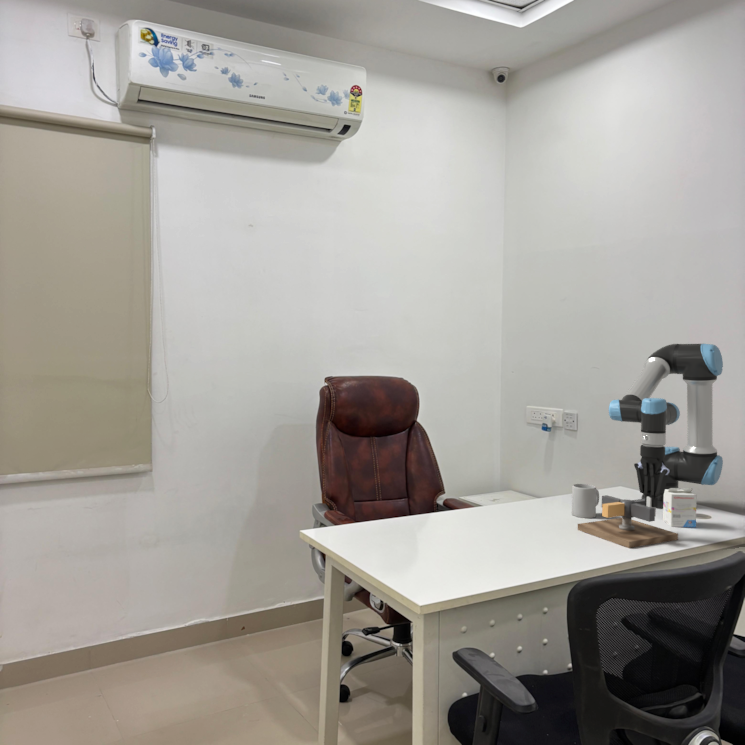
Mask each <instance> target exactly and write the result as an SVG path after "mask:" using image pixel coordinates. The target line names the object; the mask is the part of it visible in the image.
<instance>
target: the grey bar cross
mask: <svg viewBox="0 0 745 745" xmlns="http://www.w3.org/2000/svg"><path fill="white" fill-rule="evenodd" d="M601 508H602V510H601V512H602V513H601V517H604V518H608V519H609V518H610V519H611V518H616V517H617V518H618V517H621V518H622V517H627V518H631V519H632V518H637V519H639V520H642V521H646V522H651V523H652V522H655V521H656V518H655V517H656V516H655V508H651V507H648V506H646V505H645V499H641V498H639V499H638V498H637V499H621V498H618V497H614V496H610V495H608V494H607V495H602V496H601Z"/></svg>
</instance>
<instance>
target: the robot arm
mask: <svg viewBox="0 0 745 745" xmlns="http://www.w3.org/2000/svg"><path fill="white" fill-rule="evenodd" d="M723 367H724V362H723V356H722V352H721V350H720V348H719V347H718V346H717V345H716V344H711V343H710V344H709V343H671V344H668V345H665V346H663V347H661V348H659V349H657V350H656V351H654V352H653V353H652V354H651V355H650V356H648V358H646V360H645V361H644V363H643V369H642V370H641V372H640V373H639V375H638V376H637V377H636V379H635V380H634V382H633V383H632V385H631V386H630V388H629V389H628V390H627V391H626V393H625V394H624V396H623V397H622V398H621V399H619V398H618V399H612V400H611V401H610V402H609V406H608V415H609V418H610V419H611V420H612V421H617V422H618V421H619V422H622V423H623V422H625V423H638V424H640V444H641V445H640V446H639V447H640V449H639V450H640V451H639V455H640V457H641V458H640V460H639V462H636V463H633V465H634V468H635V470H636V478H637V481H638V482H637V483H638V488H639V493H641V494H642V495H641V498H640V499H645V505H646V506H648V507H651V508H655V517H656V514H657V513H656V512H657V509H663V499H664V491H665V489H670V488H679V482H682V483H689V484H690V483H691V484H697V485H702V486H705V485H706V486H714V485H716V484H717V483H718V482H719V479H720V477H721V475H722V470H723V467H724V465H723V463H724V460H723V457H722V456H721V455H720V454H718V450H717V448H716V447H715V446H714V445H713V385H714V383H715V382H716V381H717V380H718V376H721V375H722V373H723ZM673 374H675V375H682V381H684V382H685V383H686V391H687V392H686V394H687V395H686V398H687V399H686V402H687V404H686V405H687V406H686V407H687V408H686V409H687V410H686V411H687V413H686V414H687V416H686V418H687V421H686V424H687V427H686V428H687V430H686V431H687V434H686V436H687V437H686V438H687V444H686V445H685V446H684V447H683V448H682V449H683V450H682V451H681V449H680V447H678V446H665V445H667V444H666V443H667V439H666V437H667V436H666V435H667V434H666V432H667V431H666V430H667V426H670V425H673V424H674V423H676V422H677V421H678V420H679V418H680V416H681V411H680V408H679V407H678V406H677V405H676V404H675V403H674V402H673V403H672V402H669V401H667V400H666V399H665V398H660V397H651V396H652V395H653V394H654V392H655V391H656V389H657V387H658V386H659V385H660V383H661V382H662V380H663V379H666V378H667V377H668V376H669V375H673Z"/></svg>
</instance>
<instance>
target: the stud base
mask: <svg viewBox="0 0 745 745" xmlns="http://www.w3.org/2000/svg"><path fill="white" fill-rule="evenodd" d="M577 531H580V532H583V533H586V534H588V535H591V536H594V537H597V538H600V539H602V540H605V541H607V542H610V543H613V544H616V545H619V546H622V547H624V548H628V549H633V548H637V547H642V546H644V547H645V546H649V545H655V544H662V543H665V542H666V543H667V542H668V543H669V542H673V541H678V540H679V534H678V533H677V532H673V531H672V530H671V531H670V530H667V529H664V528H660V527H657V526H653V525H650V524H648V523H643V522H641V521H637V520H634V519H632V518H627V517H622V516H621V517H617V518H616V517H615V518H610V519H609V518H608V519H604V520H597V521H596V520H595V521H590V522H588V521H587V522H583V523H582V522H581V523H577Z"/></svg>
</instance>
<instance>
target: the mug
mask: <svg viewBox="0 0 745 745" xmlns="http://www.w3.org/2000/svg"><path fill="white" fill-rule="evenodd" d="M571 492H572V493H571V494H572V495H571V515H572V516H573V517H576V518H580V519H581V518H582V519H593V518H595V517H596V516H597V506H599V502H600V492H599V489H597V486H595V485H593V484H589V483H574V484H573V485H572V491H571Z"/></svg>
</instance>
